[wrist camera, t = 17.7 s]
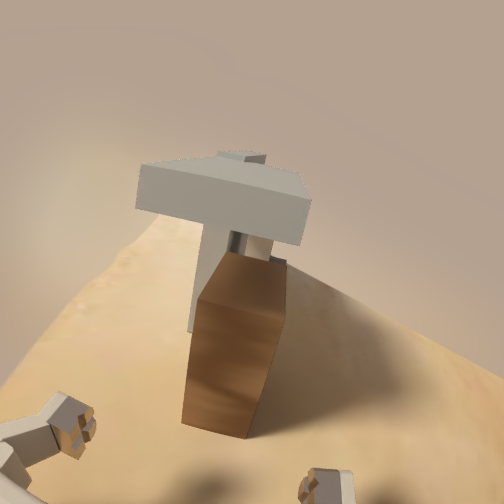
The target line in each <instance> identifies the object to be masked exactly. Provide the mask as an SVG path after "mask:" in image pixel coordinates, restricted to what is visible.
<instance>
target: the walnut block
mask: <svg viewBox="0 0 504 504" xmlns="http://www.w3.org/2000/svg"><path fill="white" fill-rule="evenodd" d="M286 273H287V266H286V265H282V264H278V263H274V262H269V261H265V260H261V259H257V258H253V257H248V256H244V255H240V254H236V253H232V252H228V251H226V253H225V254H224V256H223V257H222V259H221V261H220V262H219V264H218V266H217V267H216V269H215V271H214V272H213V274H212V275H211V277H210V279H209V280H208V282H207V284H206V285H205V287H204V289H203V290H202V292H201V294H200V295H199V297H198V299H197V305H196V311H195V318H194V325H193V332H192V339H191V346H190V354H189V361H188V369H187V377H186V385H185V393H184V402H183V411H182V420H181V423H182V424H186V425H189V426H193V427H196V428H200V429H204V430H207V431H211V432H215V433H219V434H223V435H227V436H232V437H236V438H241V439H245V438H246V436H247V433H248V430H249V427H250V424H251V422H252V419H253V416H254V413H255V410H256V407H257V404H258V401H259V399H260V396H261V393H262V390H263V387H264V384H265V381H266V378H267V375H268V372H269V369H270V366H271V362H272V359H273V356H274V353H275V350H276V347H277V344H278V340H279V337H280V334H281V331H282V328H283V324H284V321H285V303H286Z"/></svg>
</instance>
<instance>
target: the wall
mask: <svg viewBox="0 0 504 504" xmlns="http://www.w3.org/2000/svg"><path fill="white" fill-rule="evenodd" d="M265 159H266V154H261V153H257V152H252V151H218V152H217V156H216V157H204V158H193V159H182V160H173V161H163V162H155V163H147V164H141V169H140V175H139V182H138V190H137V199H136V206H135V208H136V209H140V210H145V211H149V212H154V213H158V214H163V215H167V216H172V217H176V218H181V219H185V220H189V221H194V222H198V223H202V224H204V226H203V231H202V237H201V243H200V249H199V255H198V262H197V268H196V274H195V281H194V288H193V294H192V301H191V308H190V315H189V323H188V330H187V332H191V333H192V332H193V325H194V318H195V311H196V305H197V299H198V297H199V295H200V294H201V292H202V290H203V289H204V287H205V285H206V284H207V282H208V280H209V279H210V277H211V275H212V274H213V272H214V271H215V269H216V267H217V266H218V264H219V262H220V261H221V259H222V257H223V256H224V254H225V253H226V251H228V252H232V253H236V254H240V255H245V250H246V246H247V241H248V237H249V234H250V235H254V236H258V237H262V238H267V239H271V240H275V241H279V242H283V243H287V244H292V245H296V246H300V243H301V239H302V235H303V232H304V228H305V224H306V220H307V216H308V212H309V208H310V204H311V201H312V200H311V198H310V196H309V194H308V191H307V189H306V187H305V185H304V183H303V181H302V179H301V177H300V175H299V173H297V172H293V171H289V170H285V169H280V168H276V167H272V166H267V165H264V164H265Z"/></svg>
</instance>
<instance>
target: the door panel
mask: <svg viewBox="0 0 504 504" xmlns="http://www.w3.org/2000/svg"><path fill="white" fill-rule="evenodd" d="M273 241H274V240H271V239H267V238H262V237H258V236H254V235H250V234H249V237H248V242H247V247H246V251H245V256H248V257H253V258H257V259H261V260H265V261H269V262H274V263H278V264H282V265H286V260H284V259H280V258H276V257H272V256H270V254H271V250H272V246H273Z"/></svg>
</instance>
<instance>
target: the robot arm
mask: <svg viewBox="0 0 504 504" xmlns="http://www.w3.org/2000/svg"><path fill="white" fill-rule="evenodd" d="M93 415H94V410H93V407H90V406H88V405H86V404H84V403H82V402H80V401H78V400H76V399H74V398H72V397H70V396H68V395H66V394H64V393H62V392H60V391H59V392H57V393H55V394H54V395H53V397H52V398H51V399H50V400H49V401H48V402H47V404H46V405H45V406H44V407H43V408H42V409H41V411H40V412H39V413H38V414H37V415H36V416H35V415H30V416H26V417H23V418H20V419H16V420H13V421H9V422H5V423H2V424H0V504H47V503H46V502H44V501H42V500H41V499H39V498H38V497H36V496H35V495H33V494H31V493H30V492H28V491H27V490H26V489H27V488H28V486H29V485H30V483H31V481H32V479H31V477H30V475H29V473H28V472H27V470H26V469H25V468H27V467H29V466H31V465H34V464H36V463H38V462H40V461H42V460H45V459H47V458H49V457H51V456H53V455H55V454H57V453H59V452H60V451H61V452H63V453H65V454H67V455H69V456H71V457H73V458H75V459H77V460H79V458H80V457H81V455H82V454H83V452H84V451H85V449H86V447H85V443H86V442H89V441H91V439H92V438H93V436H94V434H95V431H96V420H95V419H94V418H93ZM298 499H299V501H300V502H301V504H356V498H355V489H354V481H353V473H352V472H351V471H350V470H337V469H322V468H311V469H310V470H309V471H308V476H307V477H305V478H303V480H302V481H301V484H300V486H299V491H298Z"/></svg>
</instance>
